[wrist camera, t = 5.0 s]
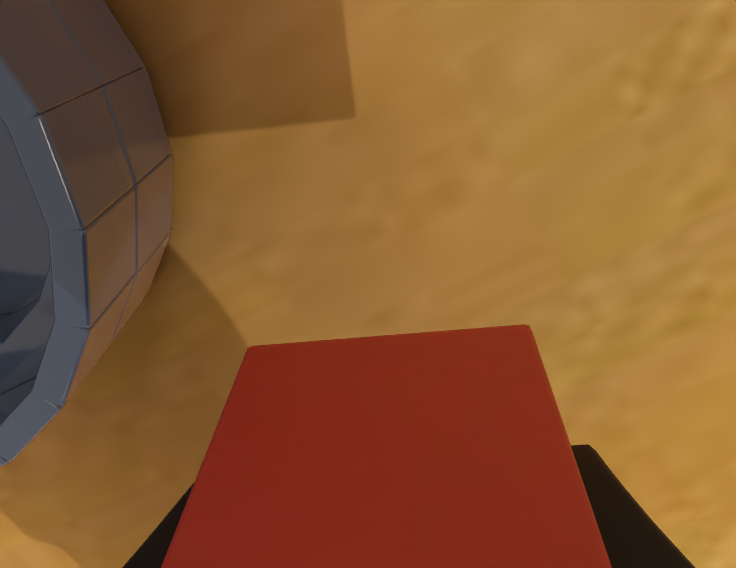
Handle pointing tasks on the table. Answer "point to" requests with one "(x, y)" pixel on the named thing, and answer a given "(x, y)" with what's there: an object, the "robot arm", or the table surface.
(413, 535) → the red block
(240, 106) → the table surface
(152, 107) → the bowl
